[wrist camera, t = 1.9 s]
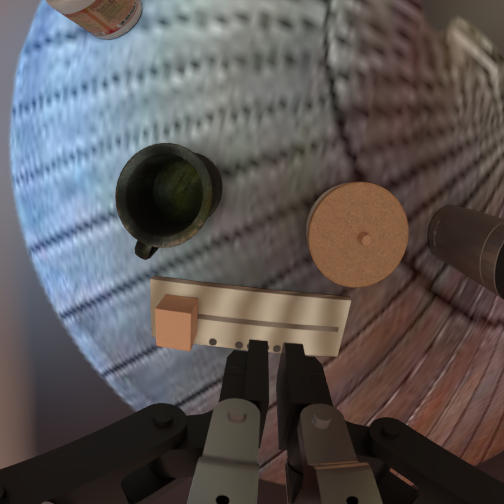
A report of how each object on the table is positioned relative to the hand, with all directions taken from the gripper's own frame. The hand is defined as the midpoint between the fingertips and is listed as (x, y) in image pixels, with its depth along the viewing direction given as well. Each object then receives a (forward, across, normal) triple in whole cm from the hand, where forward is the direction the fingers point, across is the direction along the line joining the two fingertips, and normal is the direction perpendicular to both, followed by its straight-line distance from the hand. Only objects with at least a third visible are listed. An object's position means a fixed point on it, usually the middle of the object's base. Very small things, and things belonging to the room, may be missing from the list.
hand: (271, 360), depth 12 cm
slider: (+31, +11, +15) cm, 36 cm away
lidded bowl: (+33, -11, -1) cm, 35 cm away
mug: (+33, +12, -2) cm, 35 cm away
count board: (+33, +1, +15) cm, 36 cm away
